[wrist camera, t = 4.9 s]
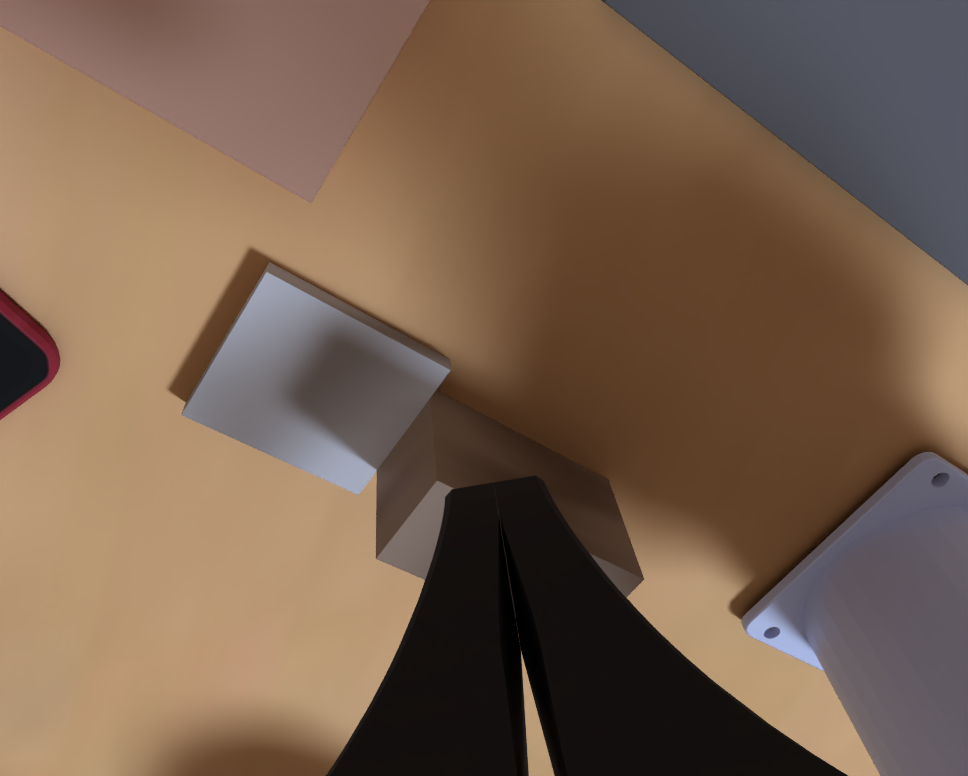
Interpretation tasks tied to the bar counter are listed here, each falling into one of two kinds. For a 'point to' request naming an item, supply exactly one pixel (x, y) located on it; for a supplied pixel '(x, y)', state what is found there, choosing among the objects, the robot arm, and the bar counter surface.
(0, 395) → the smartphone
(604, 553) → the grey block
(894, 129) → the mat
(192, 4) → the tile
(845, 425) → the bar counter surface
